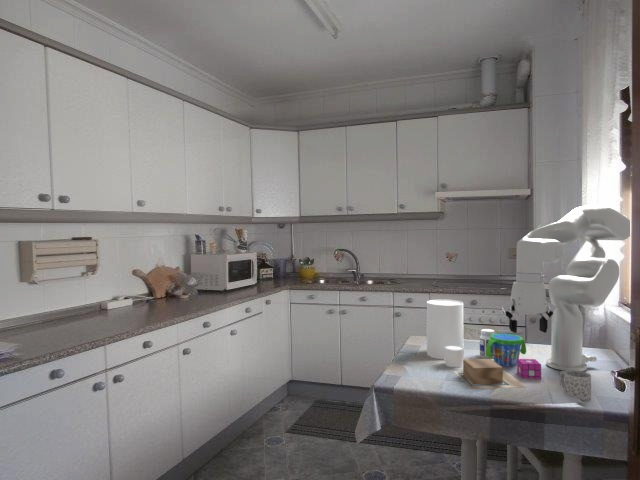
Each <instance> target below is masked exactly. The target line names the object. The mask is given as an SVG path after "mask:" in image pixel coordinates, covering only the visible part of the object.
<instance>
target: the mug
mask: <svg viewBox="0 0 640 480" xmlns="http://www.w3.org/2000/svg"><path fill="white" fill-rule="evenodd" d="M559 383H560V384H559V385H560V386H561V387H562V388H563V390H564V394H566V395H569V396H571V397H575V398H576V399H578V400H579V401H581V402H588V401H591V399H592V375H591V374H590V373H588V372H586V371H577V370H568V371H563V370H560V373H559Z"/></svg>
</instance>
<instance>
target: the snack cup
mask: <svg viewBox="0 0 640 480" xmlns="http://www.w3.org/2000/svg"><path fill="white" fill-rule="evenodd" d="M491 345H492V348H493V356H494V358H493V361H494V362H496V363H497V364H499V365H500V366H505V367H515V366H517V359H520V354H521V355H526V353H527V346H526V342H525V340H524V338H523V337H522V336H520V335H517V334H512V333H494V334H492V335H491V336H490V340H489V342H488V344H487V347H486V355H487V357H488V358H487V359H492V358H491V357H492V356H491Z"/></svg>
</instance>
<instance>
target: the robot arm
mask: <svg viewBox="0 0 640 480" xmlns="http://www.w3.org/2000/svg"><path fill="white" fill-rule="evenodd" d="M630 221H631V220H630V219H629V217H627V216H626V215H625V214H623V213H622V212H620V211H619V210H617V209H616V208H614V207H612V206H609V205H583V206H578V207H575V208H574V209H572V210H571V211H570V212H568V213H567V214H566V215H564V216H563V217H562V218H561V219H559V220H558V221H557V222H553V223H550V224H547V225H545V226H542V227H538V228H535V229H534V230H531V231H530V232H528V233H527V234H526V235H524V236H523V237H522V238H521V239H520V240H517V243H516V264H515V265H516V266H515V267H516V274H515V278H516V279H515V281H513V284H512V288H511V292H510V301H507V302H506V303H503V304H502V305H501V307H500V308H501V310H502V311H503V313H504V315H505V317H507V319H508V321H509V322H508V324H509V325H508V328H509V331H510V332H512V333H514V334H516V333H517V332H518V320H516V319H517V318H518V317H519V315H539V316H540V318H539V328H538V329H539V331H540V332H542V333H545V334H546V333H547V332H548V325H549V323H548V321H549V320H550V318H551V323H550V324H551V337H550V338H551V339H550V340H551V341H550V342H551V345H550V346H551V348H550V349H551V353H550V355H551V356H550V357H551V358H548V359H546V360H545V361H546V362H545V364H546V366H548V367H550V368H552V369H555V370H558V371H568V370H577V371H583V372H586V371H588V364H587V363H588V362H591V363H592V362H597V357H596V355H589V356H588V354H584V353H583V337H584V336H583V335H584V334H583V324H584V321H583V320H584V319H583V314H582V311H581V310H580V308H579V306H582V307H583V306H584V307H591V308H595V307H596V308H597V307H600V306H601V305H603V304H604V303H605V302H606V300H607V298H608V297H609V296H610V294H611V292H612V290H614V288H615V286H616V284H617V283H618V280H619V277H620V266H619V263H618V262H617V261H616V260H615V259H613V258H611V257H610V258H609V257H606V251H605V250H604V247H603V246H602V245H601V244H600V243H599V241H625V240H627V239H629V238H630V237H631V235H630ZM578 239H579V250H578V251H577V253H576V254H575V255H574V257H573V258H572V259H571V260H570V262H569V263H568V265H567V267H566V269H565V275H564V274H563V275H562V274H561V275H556V276H555V277H552V278H551V279H550V281H549V283H548V287H547V288H548V295H549V299H550V301H547V292H546V286H545V283H544V282H543V280H545V279H547V275H546V274H544V273H543V263H556V262H558V261H559V260H561V259H562V258H563V256H564V255H565V247H564V245H568V244H572V243H574V242H576V241H578ZM547 307H548V310H547ZM509 310H510V311H509Z"/></svg>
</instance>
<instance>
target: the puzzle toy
mask: <svg viewBox="0 0 640 480" xmlns="http://www.w3.org/2000/svg"><path fill="white" fill-rule="evenodd" d="M516 369H517V370H516V373H517V374H518V375H519V376H520V378H521V379H530V380H532V379H533V380H541V379H542V364H541V363H540V362H539V361H538V360H537V359H535V358H519V359H517V365H516Z"/></svg>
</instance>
